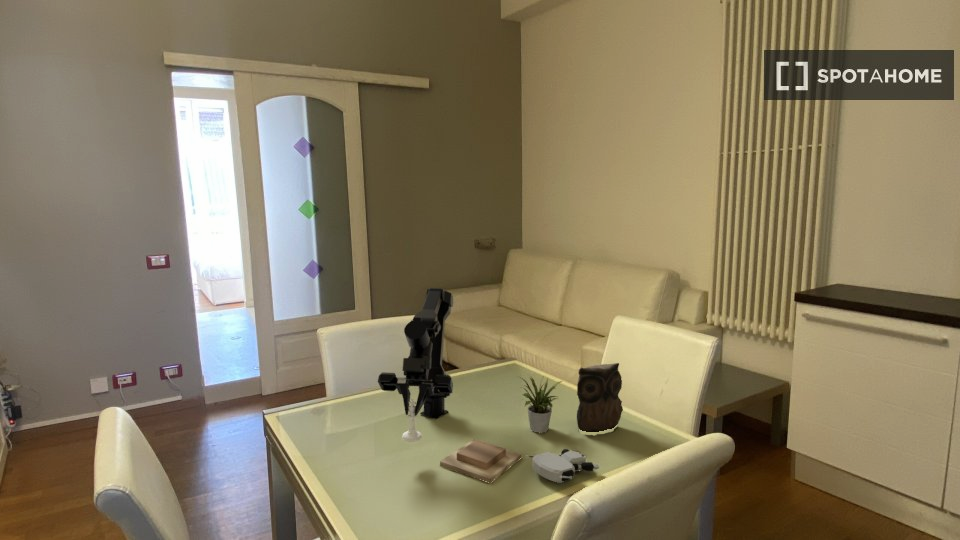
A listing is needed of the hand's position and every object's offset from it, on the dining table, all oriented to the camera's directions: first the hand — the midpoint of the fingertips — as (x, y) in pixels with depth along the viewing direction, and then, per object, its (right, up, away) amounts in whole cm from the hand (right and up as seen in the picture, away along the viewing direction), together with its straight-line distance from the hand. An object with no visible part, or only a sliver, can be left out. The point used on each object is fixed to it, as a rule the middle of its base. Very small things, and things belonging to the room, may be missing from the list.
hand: (411, 414), depth 129 cm
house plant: (+33, -11, +23) cm, 42 cm away
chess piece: (0, -7, +2) cm, 7 cm away
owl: (+51, -11, +25) cm, 58 cm away
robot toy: (+37, -14, -1) cm, 40 cm away
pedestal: (+17, -13, +4) cm, 22 cm away
